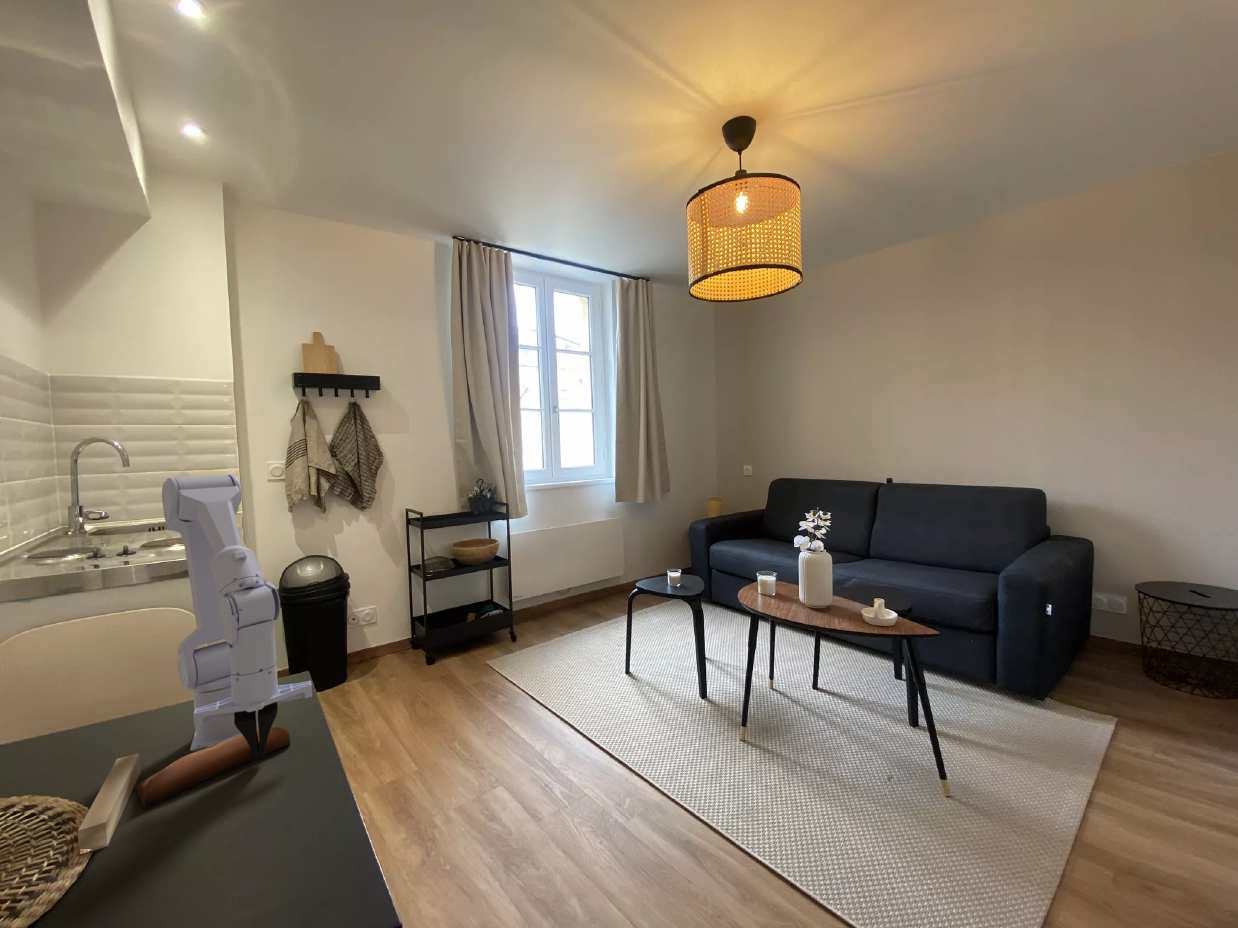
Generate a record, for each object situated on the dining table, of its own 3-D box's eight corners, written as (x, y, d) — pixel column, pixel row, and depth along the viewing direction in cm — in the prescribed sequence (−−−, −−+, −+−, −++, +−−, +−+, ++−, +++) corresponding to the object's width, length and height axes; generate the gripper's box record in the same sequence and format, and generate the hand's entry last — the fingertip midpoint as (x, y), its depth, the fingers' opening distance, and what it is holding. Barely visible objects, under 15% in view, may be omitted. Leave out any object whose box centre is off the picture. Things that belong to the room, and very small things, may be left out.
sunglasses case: (270, 730, 89) (276, 702, 87) (286, 762, 85) (293, 734, 83) (127, 789, 74) (130, 757, 72) (141, 831, 71) (144, 799, 69)
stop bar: (140, 772, 78) (138, 752, 78) (107, 845, 63) (105, 821, 63) (118, 778, 77) (117, 758, 77) (79, 855, 62) (78, 830, 62)
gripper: (188, 690, 71) (194, 788, 72) (311, 663, 79) (316, 750, 80) (194, 673, 77) (200, 763, 78) (308, 649, 85) (313, 731, 86)
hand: (259, 755), depth 79 cm, fingers closed
